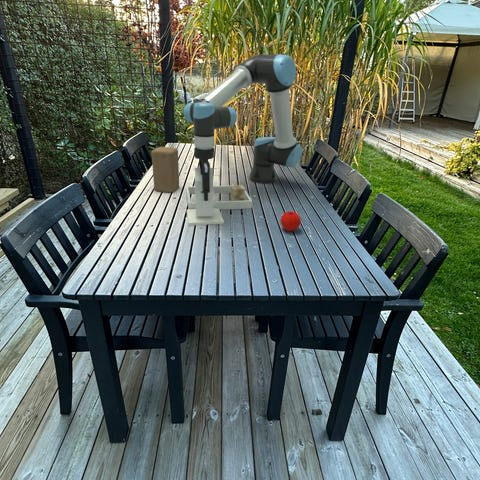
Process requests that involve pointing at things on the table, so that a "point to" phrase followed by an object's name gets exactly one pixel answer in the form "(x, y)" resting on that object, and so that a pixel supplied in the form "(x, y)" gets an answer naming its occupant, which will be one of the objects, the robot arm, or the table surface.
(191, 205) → the rectangular frame
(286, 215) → the apple
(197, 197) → the milk carton
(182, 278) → the table surface
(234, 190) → the oak block
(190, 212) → the tile
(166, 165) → the wooden block
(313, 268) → the table surface
